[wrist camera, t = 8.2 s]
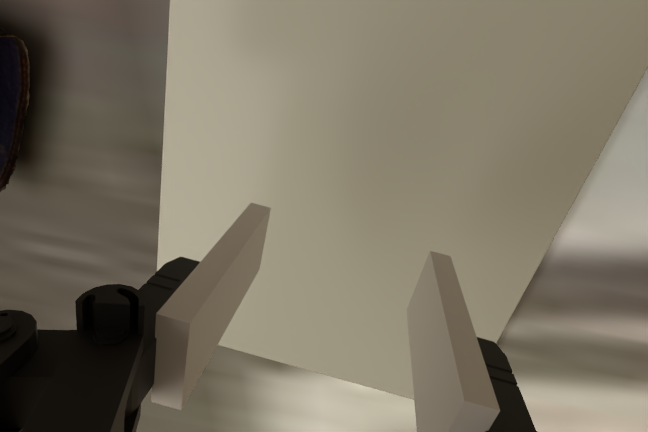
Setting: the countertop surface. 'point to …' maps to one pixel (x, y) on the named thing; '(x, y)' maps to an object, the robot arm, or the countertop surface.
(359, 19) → the beige flat panel
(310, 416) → the countertop surface
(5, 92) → the flask
